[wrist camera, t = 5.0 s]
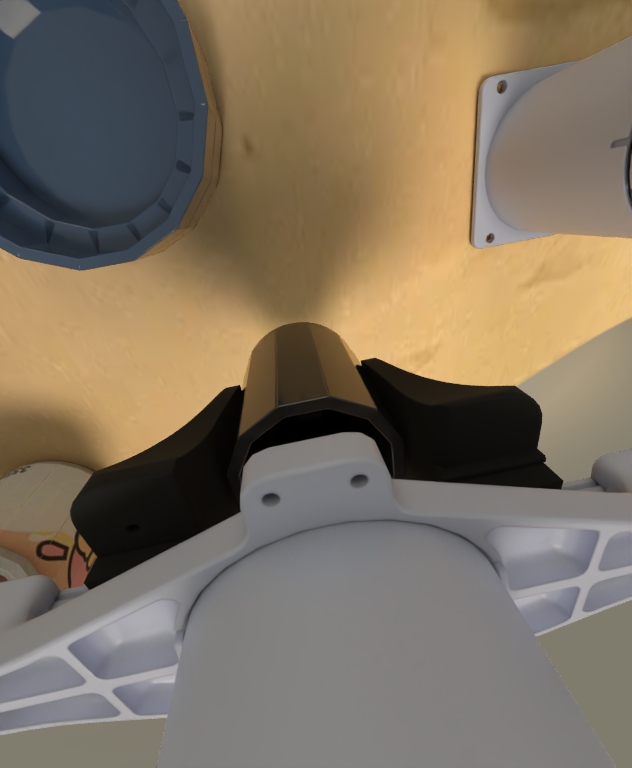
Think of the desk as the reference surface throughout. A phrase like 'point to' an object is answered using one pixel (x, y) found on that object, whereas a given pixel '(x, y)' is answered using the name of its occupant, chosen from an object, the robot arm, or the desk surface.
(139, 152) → the bowl
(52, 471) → the beverage can
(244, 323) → the desk surface
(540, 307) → the desk surface
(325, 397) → the cup
